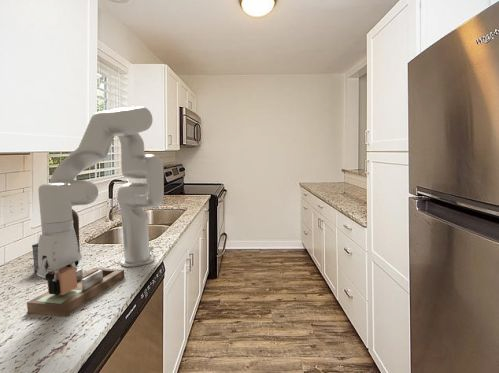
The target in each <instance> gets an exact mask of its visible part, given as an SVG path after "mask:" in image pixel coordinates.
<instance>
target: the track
mask: <svg viewBox="0 0 499 373" xmlns="http://www.w3.org/2000/svg"><path fill="white" fill-rule="evenodd" d="M76 278H77V288H75V289H73V290H71V291H70V292H68V293H66V294H64V295H60V294H58V295H55V294H48V291H46V292H44V293H42V294H40V295H38V296H37V297H34V298H33V299H30V300H29V301H27V302H26V306H27V307H26V308H27V313H28V314H37V315H44V316H45V315H46V316H48V315H49V316H56V317H57V316H59V317H67V316H69V315H70V314H72V313H73V312H75V311H76V310H78V309H79V308H81V307H83V306H84V305H85V304H87V303H88V302H91V301H92V300H94V299H95V298H96V297H98V296H100V295H101V294H103V293H104V292H105V291H107V290H109V289H110V288H112V287H113V286H115V285H116V284H118V283H120V282H121V281H122V280H125V269H119V268H118V269H117V268H115V269H114V268H101V267H98V268H97V267H93V268H91V269H88V270H86V272H83V268H78V269H77V271H76Z"/></svg>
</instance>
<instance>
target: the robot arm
mask: <svg viewBox="0 0 499 373" xmlns="http://www.w3.org/2000/svg"><path fill="white" fill-rule="evenodd" d="M152 125H153V114H152V112H151V110H149V109H148V108H147V107H145V106H136V107H135V106H131V107H119V108H113V109H110V110H102V111H97V112H95V113H94V114H93V115H92V116H91V117H90V120H89V122H88V125H87V127H86V129H85V132H84V134H83V135H82V139H81V140H80V143H79V145H78V147H77V148H76V149H74V151H72V152H71V153H70V154H69V155H67V156H66V157H65V158H64V159H63V160H62V161H60V163H59V164H58V165H57V166H56V168H55V169H54V171H53V173H52V174H51V178H50V179H49V182H48V183H42V184H40V186H39V187H38V189H37V190H38V192H37V193H38V201H39V202H38V203H39V212H40V213H39V215H40V224H41V234H39V237H38V242H37V243H38V267H39V269H38V271H37V272H36V276H38V277H41V278H42V279H44V280H45V281H46V282H47V281H48V283H47V287H48V286H49V294H55V295H58V294H60V282H59V280H57V278H58V271H59V269H60V268H63V267H76V271H77V270H78V269H77V267H78V265H79V263H80V261H81V259H82V258H83V257H82V254H81V253H80V252H79V250H78V242H77V237H76V233H75V230H74V229H73V223H74V221H73V217H72V209H73V207H76V206H88V205H90V204H92V203H94V202H95V201H96V200H97V198H98V196H99V188H98V186H97V185H96V184H95V183H94V182H93V181H89V180H85V179H83V180H82V179H79V180H78V179H77V180H75V179H76V177H78V176H79V175H80V173H82V172H83V171H85V170H87V169H89V168H91V167H93V166H96V165H97V164H100V163H101V162H104V161H105V160H106V158H107V157H108V154H109V150H110V149H111V146H112V143H113V141H114V138H115V137H117V138H118V140H119V142H120V157H121V158H120V159H121V160H120V161H121V162H120V163H121V174H122V176H123V177H124V178H125V179H128V180H146V182H130V183H129V182H127V183H124V184H122V185H121V186H119V188H118V190H117V194H116V195H117V196H116V197H117V201H118V204H119V209H120V215H121V224H122V227H121V228H122V240H123V241H122V242H123V258H121V260H120V261H119V262H120V263H119V264H120V265H121V266H122V267H127V268H132V267H133V268H134V267H135V268H136V267H141V266H142V267H143V266H146V265H149V264H150V263H153V262H154V260H155V257H154V255H153V254H151V252H152V251H154V250H155V249H154V248H155V247H154V246H153V245H151V246H150V240H149V238H150V235H149V218H148V215H147V212H146V211H145V209H144V208H146V209H147V208H149V209H150V208H151V209H152V208H158V207H160V206H161V205H162V203H163V200H164V197H165V196H164V195H165V192H164V190H165V189H164V188H165V186H164V184H165V182H164V181H165V180H164V178H165V176H164V175H165V174H164V172H165V171H164V164H163V162H162V159H161V157H159V156H158V155H155V154H145V153H146V152H145V142H144V140H143V137H142V136H141V135H140V133H142V132H146V131H147V130H149V129H150V128H151V127H152ZM46 269H47V272H46ZM51 272H53V275H51Z"/></svg>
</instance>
